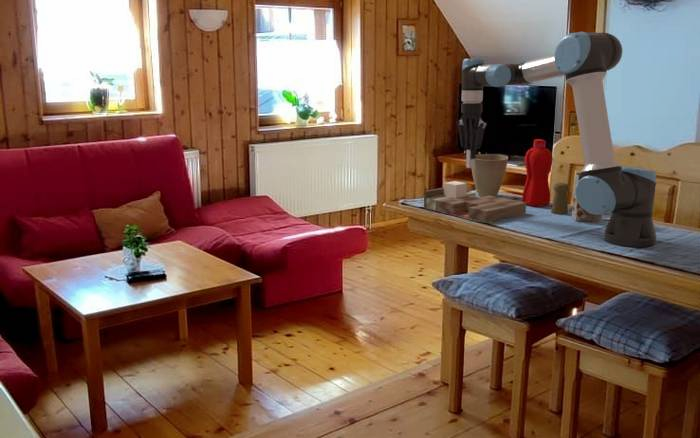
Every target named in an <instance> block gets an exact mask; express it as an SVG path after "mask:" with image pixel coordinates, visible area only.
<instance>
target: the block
mask: <svg viewBox="0 0 700 438" xmlns="http://www.w3.org/2000/svg"><path fill="white" fill-rule="evenodd" d="M443 188H444V196H447V197H452V198H460V197H465V196H467V191H468V183H467V182H462V181H457V180H454V181H447V182H444V183H443Z"/></svg>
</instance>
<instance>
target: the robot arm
mask: <svg viewBox="0 0 700 438" xmlns="http://www.w3.org/2000/svg"><path fill="white" fill-rule="evenodd" d="M622 56H623V46H622V43H621V41H620V39H619V38H618V37H616V36H615V35H613V34H612V33H608V32H592V31H591V32H590V31H589V32H586V31H578V32H571V33H567V34H565V35H564V36H563V37H562V38H560V40H559V42H558V44H557V45H556V46H555V49H554V54H550V55H547V56H542V57H538V58H534V59H531V60H527V61H523V62H519V63H490V64H489V63H486V64H485V60H484V58H464V59H463V60H462V68H461V102H462V103H461V105H460V106H461V107H460V108H461V111H460V113H461V114H462V115H461V117H460V119H459V120H457V121H455V124H456V126H457V129H458V136H459V141H460V142H459V144H460V147H461V148H463V149H464V151H465V153H464V155H465V156H464V157H465V168H467V169H471V168H473V167H474V159H475V158H476V155H477V150H478V149H481V147H482V143H483V138H484V134H485V130H486V128H487V125H488V123H487V122H484V121H483V118H482V113H483V107H484V106H483V103H482V102H483V100H484V99H483V98H484V91H483V90H484V87H494V88H502V87H507V86H508V87H509V86H524V87H525V86H528V85H529V86H530V85H532V84H534V83H537V82H540V81H545V80H548V79H554V78H557V77H563V76H564V77H565V82H566V84H568V85H570V86H571V87H572V92H573V95H572V96H573V100H574V106H575V112H576V119H577V125H578V132H579V137H580V139H579V140H580V145H581V150H582V157H583V163H584V164H583V165H584V166H583V168H581V170H580V172H579V173H581V179H580V180H579V182H578V183H577V184H578V185H577V186H576V189H575V195H576V199H577V201H578V203H579V205H580V206H581V207H582V208H583V209H584V210H585V211H586V212H588V213H590V214H594V215H599V214H602V216H603V215H609V214H611V216H610V217H609V218H610V219H609V220H608V222H607V225H606V227H605V230H604V233H603V234H604V235H603V239H604V240H605V241H606V242H607V243H610V244H613V245H617V246H618V245H619V246H624V247H633V248H634V247H635V248H642V247H643V248H644V247H651V246H655V245H656V244H657V243H656V242H657V234H656V228H655V225H654V221H653V213H654V205H655V195H656V187H657V186H656V185H657V173H656V172H655V171H654V170H652V169H648V168H642V167H635V166H628V165H627V166H626V165H622V164H620V163H619V162H618V161H616V159H615V153H614V146H613V141H612V133H611V128H610V127H611V126H610V121H609V116H608V109H607V103H606V95H605V90H604V85H603V84H604V83H603V80H604V78H605V77H606V76H607V73H608V72H607V71H611V70H612V69H614V68H616V66H617V65H618V64H619V63H620V61H621V58H622Z"/></svg>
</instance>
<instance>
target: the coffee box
mask: <svg viewBox="0 0 700 438" xmlns="http://www.w3.org/2000/svg"><path fill="white" fill-rule="evenodd" d="M580 179H581V173H580V172H575V177H574V188H573V200H572V207H571V208H572V211H571V218H572V219H573V220H574V221H575V222H590V221H592V222H593V223H595V222H596V223H602V220H603V215H602V214H599V215H594V214H590V213H588V212H586V211H585V210H584V209H583V208H582V207H581V206H580V205H579V203H578V201H577V199H576V195H575V189H576V186H577V185H578V184H577V183H578V182H579V180H580ZM592 222H591V223H592Z"/></svg>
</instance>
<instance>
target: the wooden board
mask: <svg viewBox="0 0 700 438" xmlns="http://www.w3.org/2000/svg"><path fill="white" fill-rule="evenodd" d="M423 209H427V210H431V211H434V212H440V213H443V214H448V215H451V216H457V217H461V218H465V219H469V220H473V221H476V222H477V221H478V222H481V223H485V224H486V223H491V222H495V221H499V220H504V219H507V218H508V219H509V218H513V217H518V216H521V215H526V213H527V212H526V211H527V205H526V203H525V202H522V201H520V200H513V199H510V198H509V199H508V198H504V197H501V196H496V197H495V196H490V195H489V196H484V197H480V196H476V192H474V191H469V190H467V196H465V197H460V198H452V197H447V196H444V187H438V188H434V189H427V190H424V191H423Z"/></svg>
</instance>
